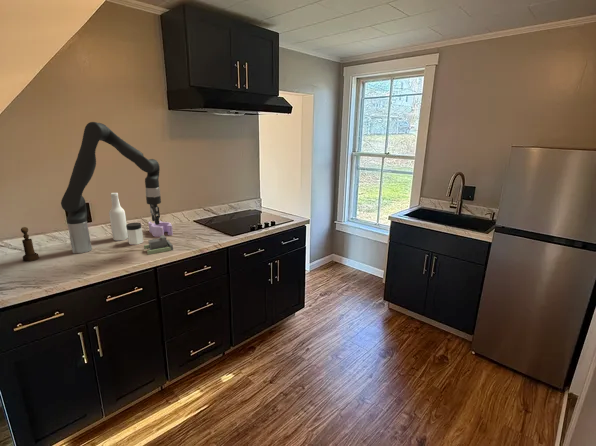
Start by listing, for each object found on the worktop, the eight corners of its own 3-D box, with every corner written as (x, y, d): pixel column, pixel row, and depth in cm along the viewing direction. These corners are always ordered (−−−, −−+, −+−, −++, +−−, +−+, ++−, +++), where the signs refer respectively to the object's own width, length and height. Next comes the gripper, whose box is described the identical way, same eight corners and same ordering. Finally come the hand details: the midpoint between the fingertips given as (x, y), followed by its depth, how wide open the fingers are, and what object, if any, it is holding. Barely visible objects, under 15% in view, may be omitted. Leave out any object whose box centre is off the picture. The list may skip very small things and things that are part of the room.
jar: (137, 239, 203) (135, 221, 200) (146, 241, 200) (144, 223, 196) (125, 243, 195) (122, 225, 192) (134, 245, 192) (131, 226, 189)
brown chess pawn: (37, 256, 174) (30, 224, 169) (40, 259, 170) (33, 227, 165) (22, 259, 169) (14, 227, 164) (24, 262, 165) (17, 230, 160)
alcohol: (118, 241, 198) (111, 194, 190) (110, 239, 202) (102, 193, 194) (131, 237, 206) (125, 192, 197) (122, 235, 209) (116, 191, 201)
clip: (144, 232, 218) (143, 222, 216) (161, 228, 227) (160, 219, 225) (158, 238, 206) (157, 228, 204) (176, 234, 215) (175, 224, 213)
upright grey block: (151, 252, 182) (149, 240, 180) (149, 249, 186) (148, 237, 184) (167, 249, 187) (166, 237, 185) (165, 246, 191) (164, 235, 189)
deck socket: (147, 254, 178) (147, 249, 178) (144, 248, 187) (143, 243, 187) (173, 250, 186) (172, 245, 185) (168, 244, 195) (168, 239, 194)
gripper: (143, 193, 181) (146, 220, 186) (148, 198, 170) (151, 226, 174) (157, 192, 185) (160, 219, 190) (163, 196, 174) (165, 224, 179)
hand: (155, 222), depth 182 cm, fingers open, 8 cm apart
